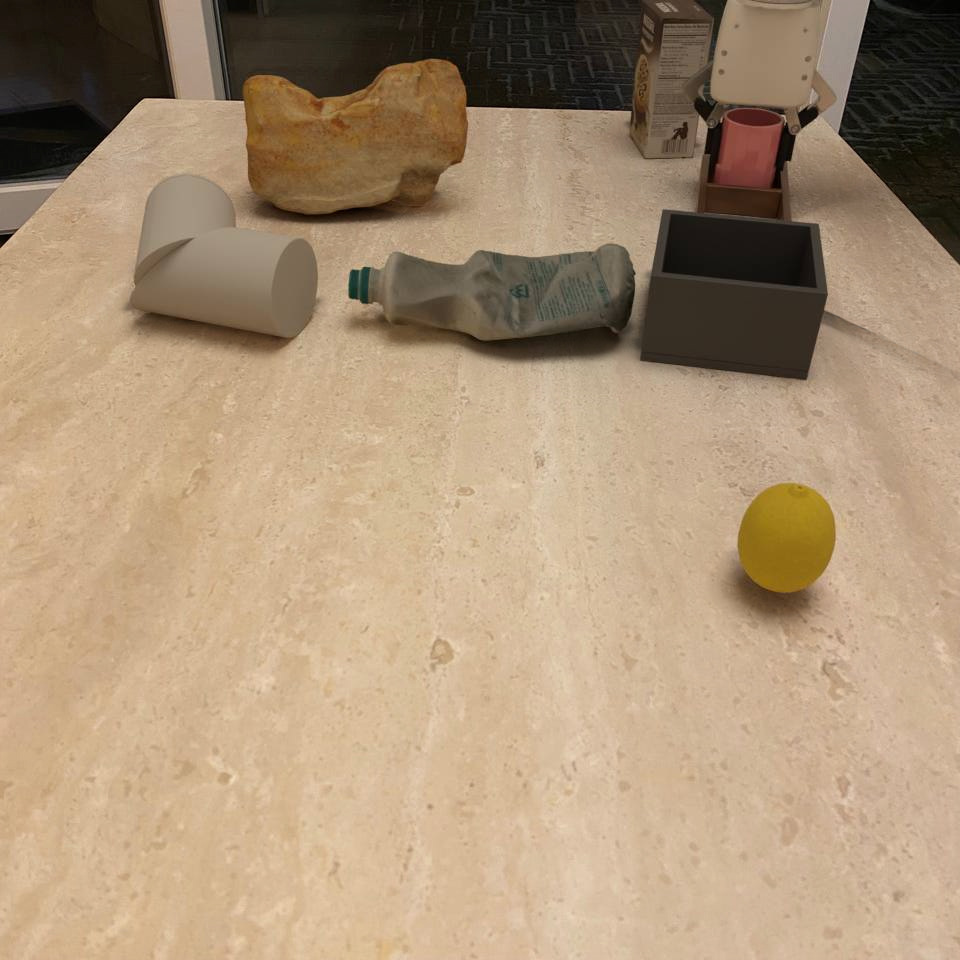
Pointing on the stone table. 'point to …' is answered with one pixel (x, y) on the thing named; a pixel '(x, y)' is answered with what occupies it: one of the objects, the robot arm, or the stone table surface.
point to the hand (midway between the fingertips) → (745, 162)
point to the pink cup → (748, 147)
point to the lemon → (786, 537)
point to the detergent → (504, 292)
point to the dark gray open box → (735, 294)
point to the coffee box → (668, 76)
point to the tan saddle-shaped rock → (355, 139)
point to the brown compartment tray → (743, 196)
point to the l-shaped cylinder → (219, 263)
